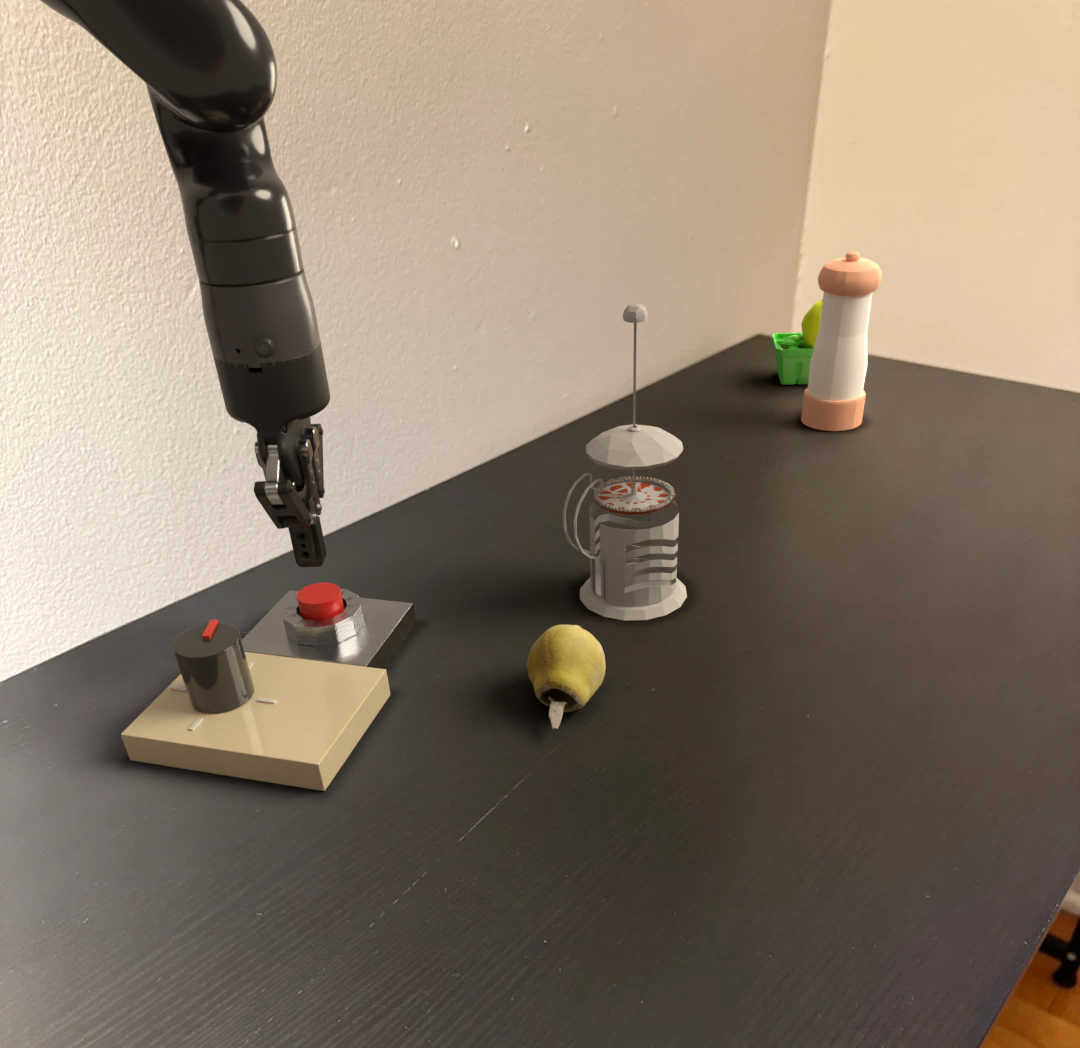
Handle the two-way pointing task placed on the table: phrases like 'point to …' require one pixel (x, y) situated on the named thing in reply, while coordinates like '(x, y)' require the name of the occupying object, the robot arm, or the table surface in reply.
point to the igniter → (335, 631)
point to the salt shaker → (841, 345)
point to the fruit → (565, 669)
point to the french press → (617, 575)
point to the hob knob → (214, 667)
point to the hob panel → (266, 723)
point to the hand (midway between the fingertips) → (312, 562)
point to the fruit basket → (797, 348)
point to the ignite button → (320, 601)
